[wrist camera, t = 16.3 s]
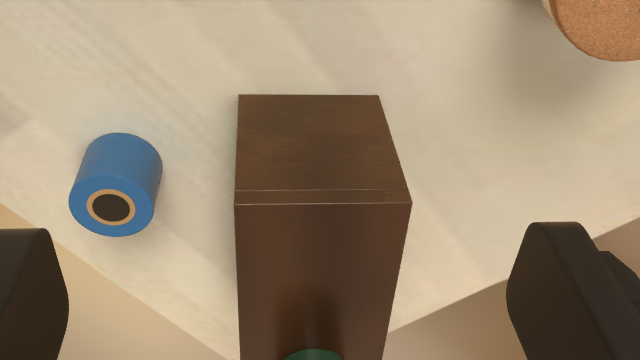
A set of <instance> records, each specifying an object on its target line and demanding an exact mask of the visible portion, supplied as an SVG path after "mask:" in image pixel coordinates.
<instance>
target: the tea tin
mask: <svg viewBox="0 0 640 360" xmlns="http://www.w3.org/2000/svg"><path fill="white" fill-rule="evenodd" d="M283 360H344V359H343V358H342V357H341V356H340V355H338V354H337V353H335V352H332V351H329V350H325V349H305V350H301V351H297V352H295V353H292V354H290V355H288V356H287V357H285V358H284V359H283Z"/></svg>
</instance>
